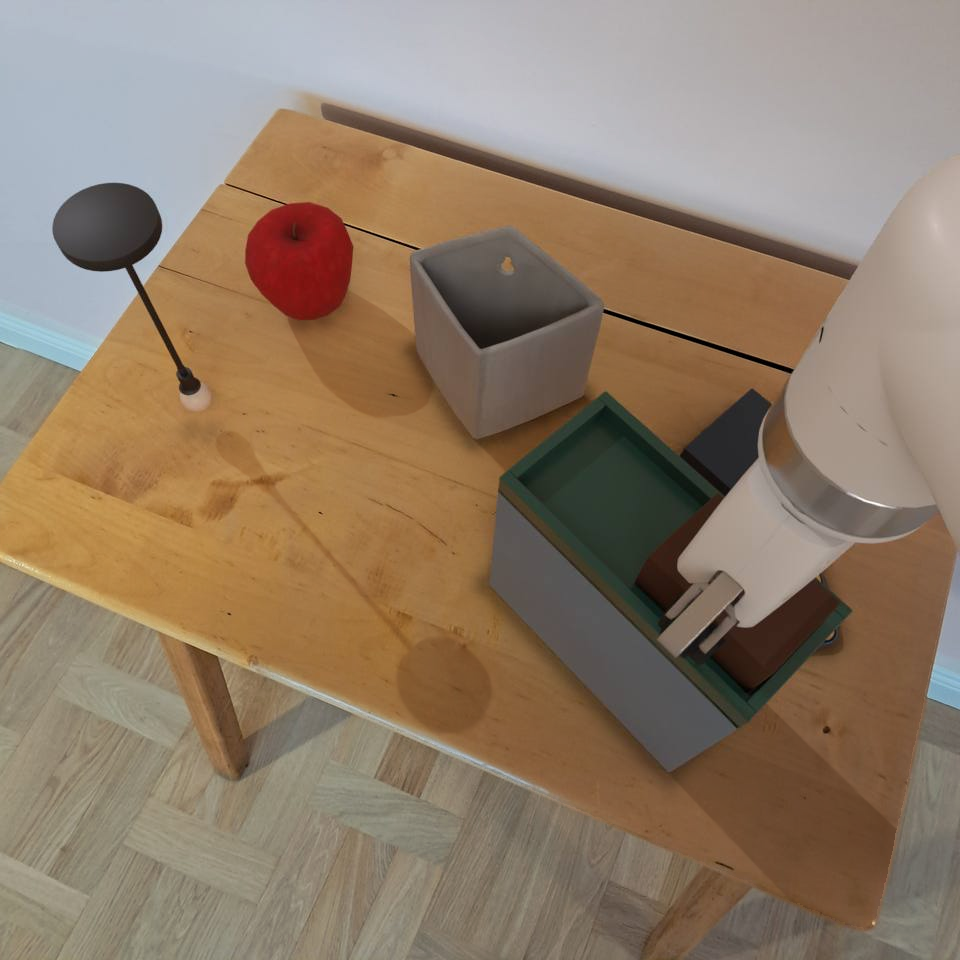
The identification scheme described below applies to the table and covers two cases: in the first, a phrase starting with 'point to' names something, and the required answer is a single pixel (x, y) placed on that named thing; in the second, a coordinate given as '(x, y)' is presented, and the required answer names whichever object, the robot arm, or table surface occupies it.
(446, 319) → the planter
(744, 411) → the dark grey rectangular block
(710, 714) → the stand
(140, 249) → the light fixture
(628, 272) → the table surface
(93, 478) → the table surface
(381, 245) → the table surface
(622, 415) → the box
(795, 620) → the brown block
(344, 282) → the apple
